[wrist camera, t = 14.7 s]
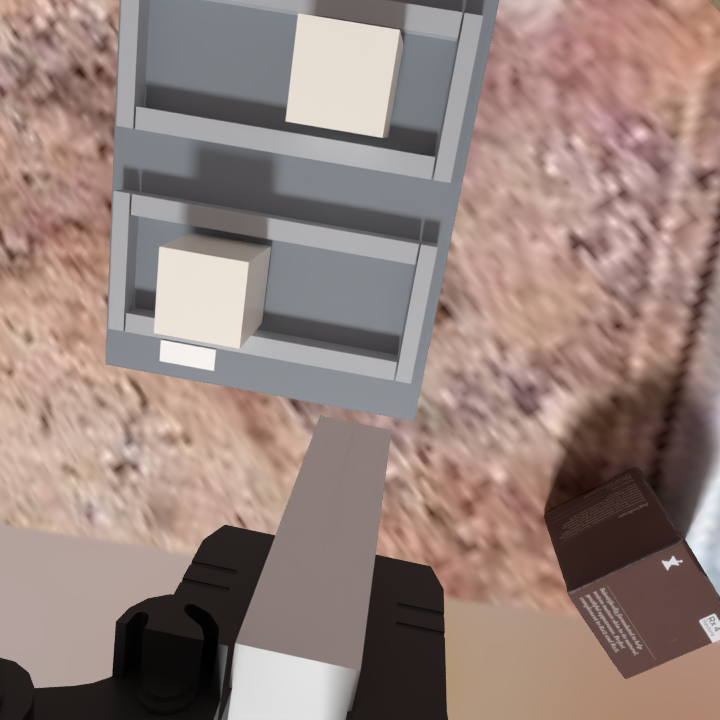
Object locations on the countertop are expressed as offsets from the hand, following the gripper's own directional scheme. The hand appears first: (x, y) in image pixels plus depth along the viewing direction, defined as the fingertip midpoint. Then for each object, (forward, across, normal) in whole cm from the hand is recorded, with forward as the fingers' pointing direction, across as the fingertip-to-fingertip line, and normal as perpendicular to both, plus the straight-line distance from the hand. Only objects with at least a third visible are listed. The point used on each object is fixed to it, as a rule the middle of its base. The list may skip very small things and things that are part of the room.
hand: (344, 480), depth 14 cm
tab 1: (+21, -8, -2) cm, 22 cm away
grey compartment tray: (+23, -6, +3) cm, 24 cm away
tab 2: (+21, -4, +8) cm, 23 cm away
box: (+23, +15, -12) cm, 30 cm away
